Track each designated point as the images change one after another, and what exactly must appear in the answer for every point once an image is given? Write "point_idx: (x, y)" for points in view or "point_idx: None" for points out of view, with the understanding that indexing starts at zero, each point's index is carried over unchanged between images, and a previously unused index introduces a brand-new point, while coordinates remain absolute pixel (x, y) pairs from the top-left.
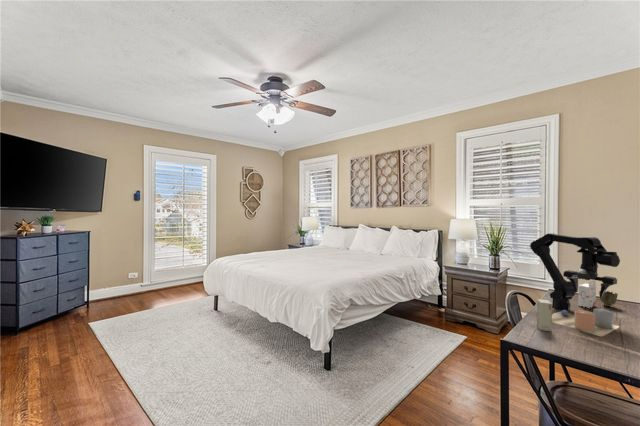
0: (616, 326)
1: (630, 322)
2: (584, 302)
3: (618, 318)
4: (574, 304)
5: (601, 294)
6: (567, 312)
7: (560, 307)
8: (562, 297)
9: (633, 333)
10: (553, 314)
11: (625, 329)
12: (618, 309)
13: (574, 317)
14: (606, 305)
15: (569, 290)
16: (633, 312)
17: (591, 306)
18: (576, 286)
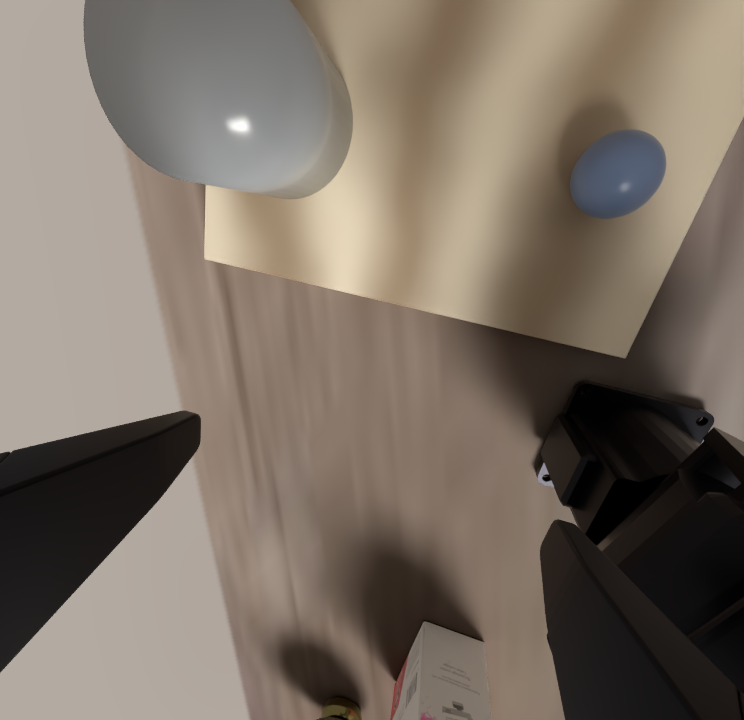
0: (218, 233)
1: (210, 470)
2: (448, 669)
3: (267, 509)
4: (507, 662)
5: (132, 425)
6: (592, 156)
7: (638, 419)
8: (705, 475)
9: (142, 209)
10: (725, 134)
11: (192, 272)
12: (297, 680)
13: (506, 218)
14: (345, 706)
15: (677, 609)
16: (241, 665)
17: (410, 654)
18: (615, 670)
